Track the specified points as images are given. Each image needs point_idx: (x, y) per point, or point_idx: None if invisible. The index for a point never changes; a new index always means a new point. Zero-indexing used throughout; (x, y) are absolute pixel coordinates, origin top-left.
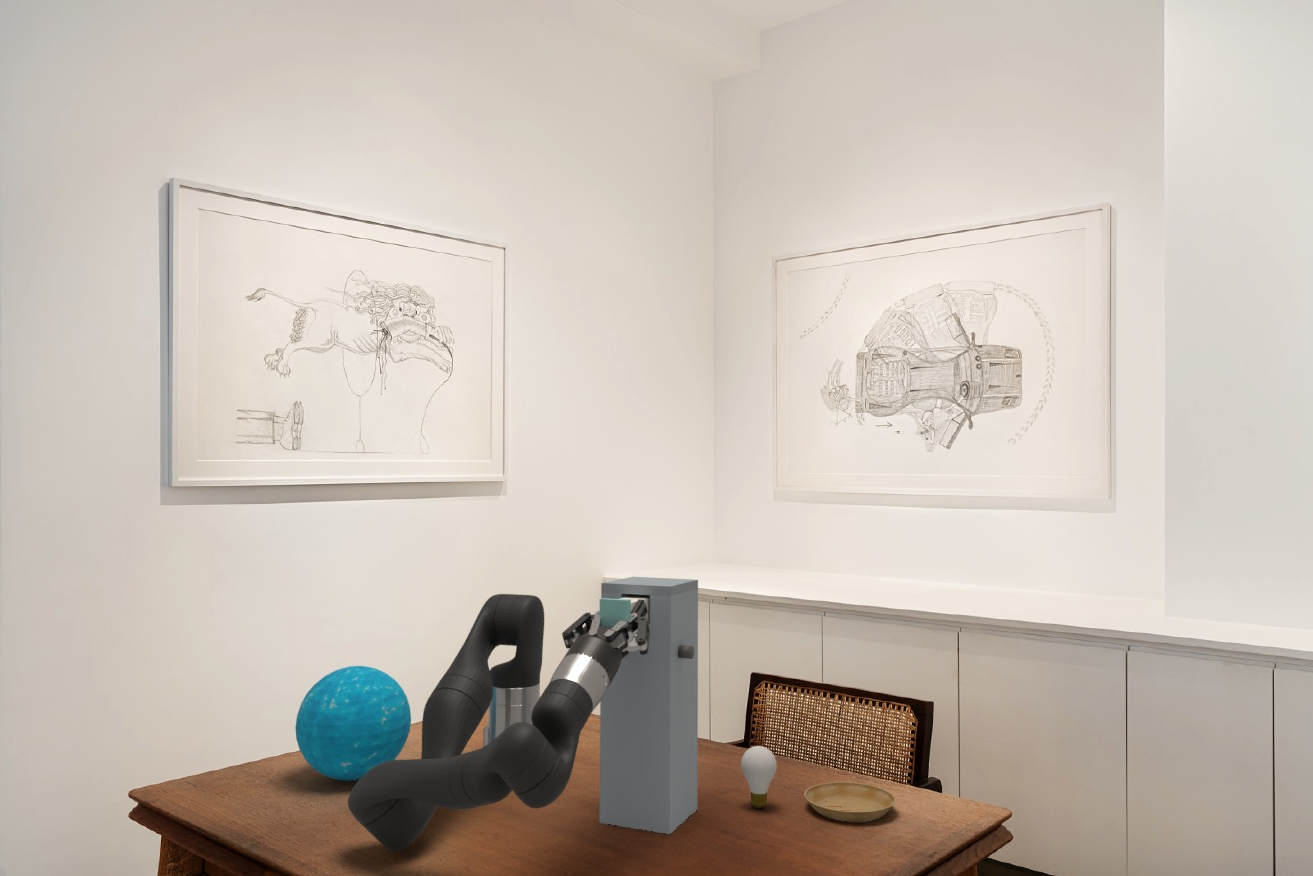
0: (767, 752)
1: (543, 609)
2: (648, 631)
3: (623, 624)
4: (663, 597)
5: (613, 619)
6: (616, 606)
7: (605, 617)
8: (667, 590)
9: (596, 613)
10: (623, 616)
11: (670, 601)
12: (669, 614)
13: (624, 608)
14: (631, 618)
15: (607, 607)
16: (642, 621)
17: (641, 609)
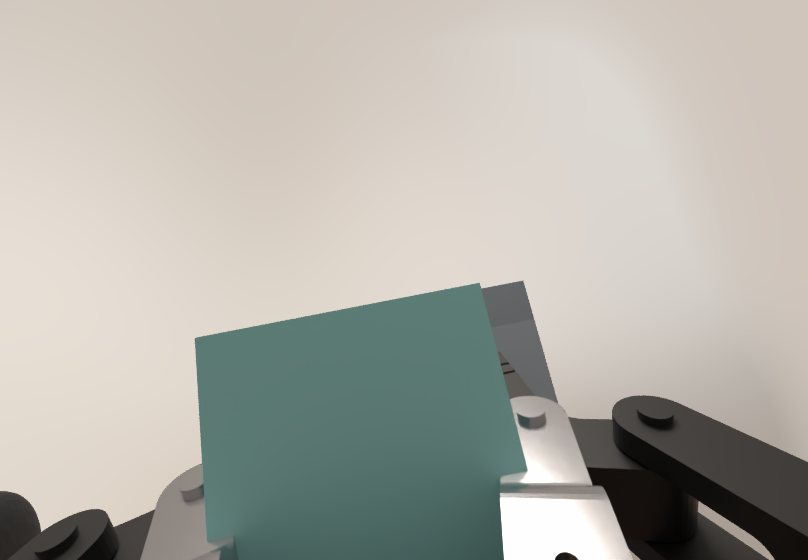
0: None
1: (34, 523)
2: (711, 525)
3: (619, 552)
4: (504, 331)
5: (374, 509)
6: (384, 363)
7: (278, 513)
8: (514, 299)
9: (171, 496)
10: (478, 445)
11: (539, 340)
12: (550, 398)
13: (470, 361)
14: (552, 444)
15: (288, 398)
16: (701, 439)
17: (508, 376)
